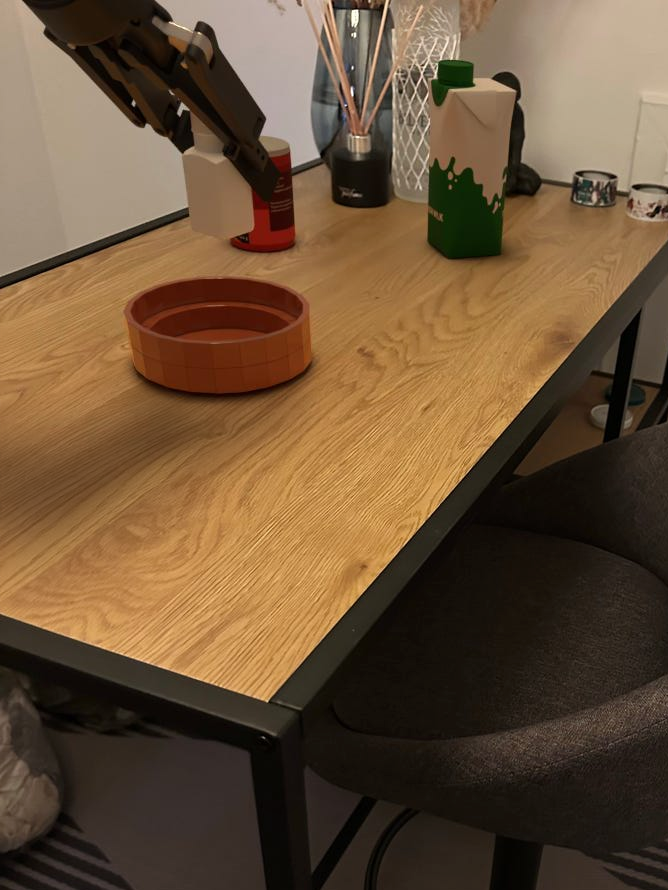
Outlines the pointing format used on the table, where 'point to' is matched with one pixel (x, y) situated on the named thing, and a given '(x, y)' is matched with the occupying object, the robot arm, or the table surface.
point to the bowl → (219, 334)
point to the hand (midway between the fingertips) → (247, 181)
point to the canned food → (272, 206)
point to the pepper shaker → (215, 188)
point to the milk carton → (467, 160)
